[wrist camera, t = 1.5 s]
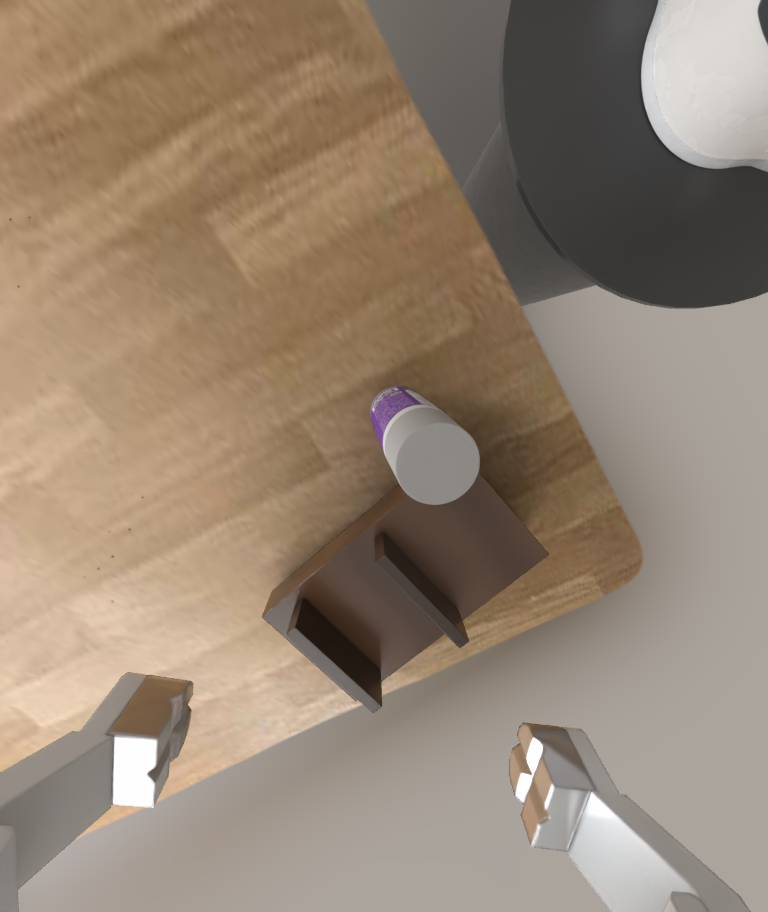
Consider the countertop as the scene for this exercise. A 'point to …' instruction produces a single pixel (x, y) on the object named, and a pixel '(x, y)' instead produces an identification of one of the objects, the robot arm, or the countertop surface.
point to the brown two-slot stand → (400, 584)
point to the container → (424, 446)
